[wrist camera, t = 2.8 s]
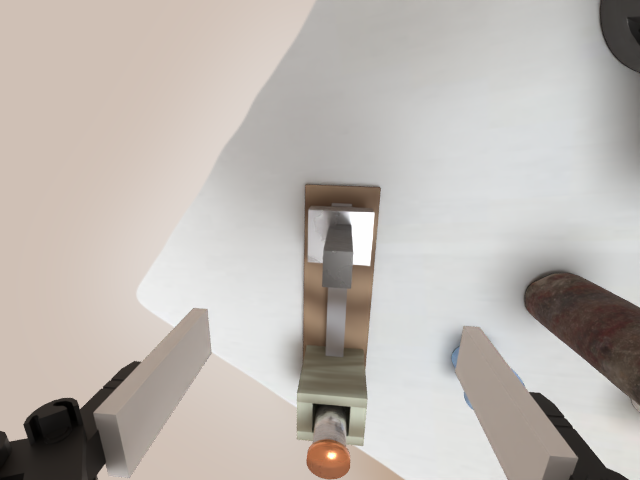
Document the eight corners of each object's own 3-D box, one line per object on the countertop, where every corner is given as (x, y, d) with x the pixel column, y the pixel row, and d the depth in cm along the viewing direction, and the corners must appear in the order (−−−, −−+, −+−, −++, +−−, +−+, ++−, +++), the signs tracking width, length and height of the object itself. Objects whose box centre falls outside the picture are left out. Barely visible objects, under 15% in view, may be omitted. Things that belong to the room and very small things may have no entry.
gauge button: (314, 385, 37) (306, 444, 30) (350, 388, 37) (351, 449, 30) (314, 413, 39) (306, 476, 31) (348, 416, 38) (348, 481, 31)
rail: (306, 184, 38) (292, 196, 28) (379, 187, 37) (391, 200, 27) (303, 381, 46) (292, 442, 37) (362, 386, 46) (367, 449, 36)
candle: (575, 258, 37) (813, 372, 18) (595, 304, 39) (835, 454, 20) (514, 286, 39) (673, 417, 20) (536, 329, 41) (704, 490, 21)
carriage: (311, 205, 35) (294, 231, 24) (372, 208, 34) (384, 236, 23) (310, 254, 36) (294, 300, 26) (368, 257, 36) (378, 305, 25)
